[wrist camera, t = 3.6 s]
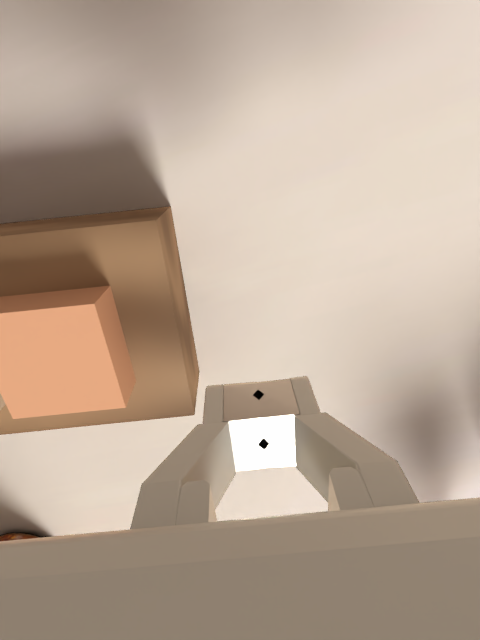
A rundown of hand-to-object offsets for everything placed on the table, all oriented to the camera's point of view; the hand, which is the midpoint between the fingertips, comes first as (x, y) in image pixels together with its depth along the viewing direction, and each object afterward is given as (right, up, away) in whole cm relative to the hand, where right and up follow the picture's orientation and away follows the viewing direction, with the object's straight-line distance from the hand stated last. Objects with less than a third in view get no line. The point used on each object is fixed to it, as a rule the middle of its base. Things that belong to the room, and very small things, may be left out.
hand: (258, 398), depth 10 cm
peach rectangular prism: (-8, +1, +5) cm, 10 cm away
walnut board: (-11, +3, +9) cm, 14 cm away
